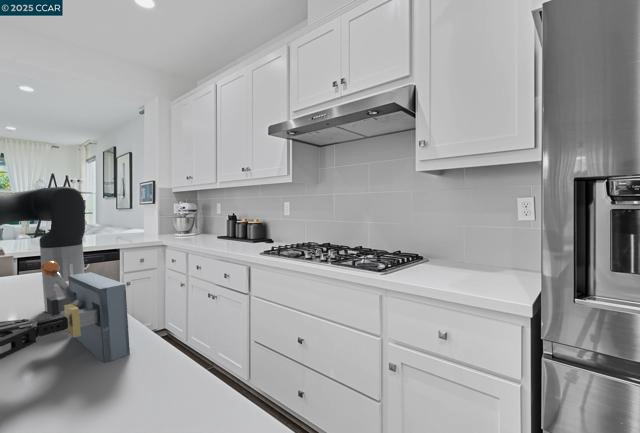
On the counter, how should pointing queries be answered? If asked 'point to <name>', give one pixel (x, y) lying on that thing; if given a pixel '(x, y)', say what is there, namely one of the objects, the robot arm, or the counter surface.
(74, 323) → the tan square block
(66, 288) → the lever
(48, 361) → the counter surface
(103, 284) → the block
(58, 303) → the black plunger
